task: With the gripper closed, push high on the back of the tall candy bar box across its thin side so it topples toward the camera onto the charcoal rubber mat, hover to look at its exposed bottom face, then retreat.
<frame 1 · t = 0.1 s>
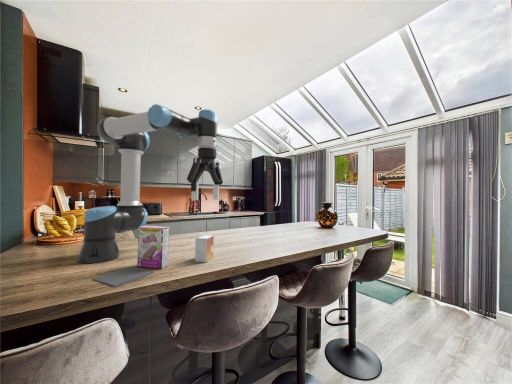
hand: (206, 199, 89), 28 cm above the worktop, fingers open, 13 cm apart
small box: (204, 259, 99), on the worktop
mat: (124, 276, 78), on the worktop
candy bar box: (152, 267, 88), on the worktop
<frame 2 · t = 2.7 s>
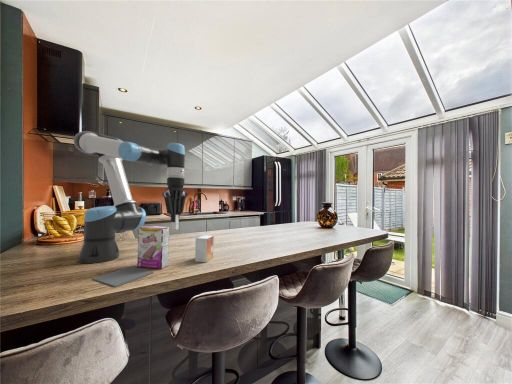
hand: (175, 228, 98), 14 cm above the worktop, fingers closed
nothing on the worktop moved.
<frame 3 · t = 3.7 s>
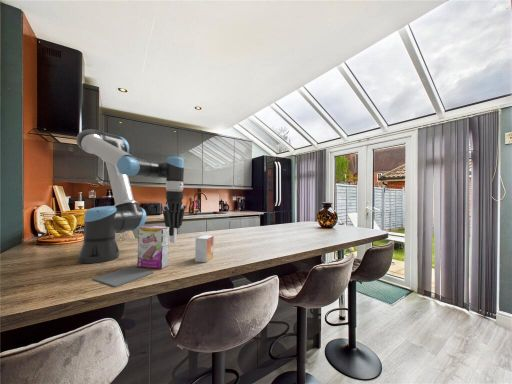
hand: (173, 242, 98), 8 cm above the worktop, fingers closed
nothing on the worktop moved.
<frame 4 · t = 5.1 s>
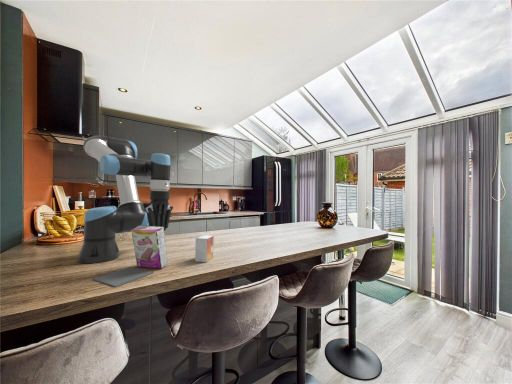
hand: (158, 246, 91), 8 cm above the worktop, fingers closed
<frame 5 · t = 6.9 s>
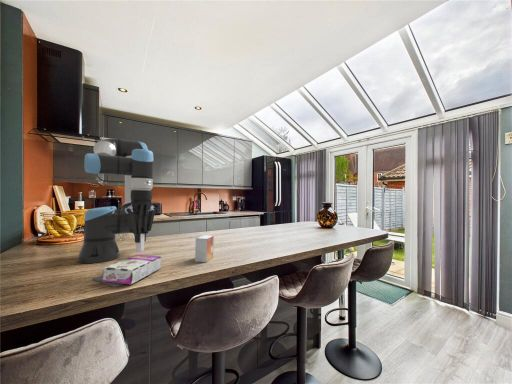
hand: (140, 250, 83), 8 cm above the worktop, fingers closed
candy bar box: (149, 261, 86), point 3 cm above the worktop, touching mat
everything else where it was.
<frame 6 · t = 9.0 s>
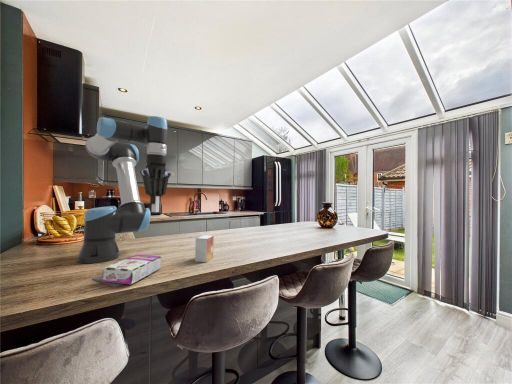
hand: (155, 211, 89), 22 cm above the worktop, fingers closed
nothing on the worktop moved.
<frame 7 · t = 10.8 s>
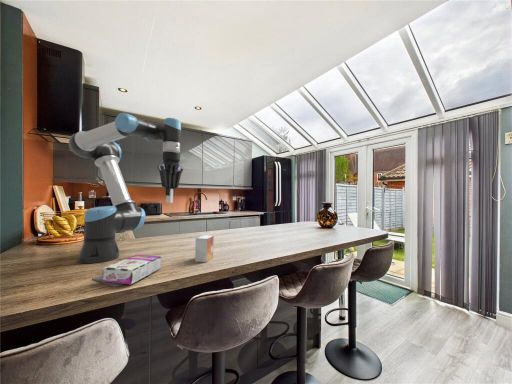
hand: (169, 202, 101), 26 cm above the worktop, fingers closed
nothing on the worktop moved.
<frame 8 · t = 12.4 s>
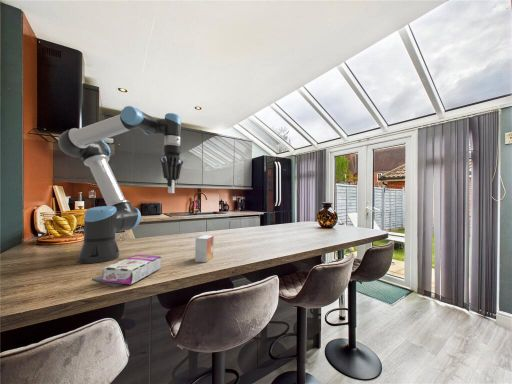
hand: (171, 193, 107), 30 cm above the worktop, fingers closed
nothing on the worktop moved.
at the end: candy bar box tilted 89°; candy bar box inside the target area (2.1 cm from its centre), point 2.8 cm above the worktop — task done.
